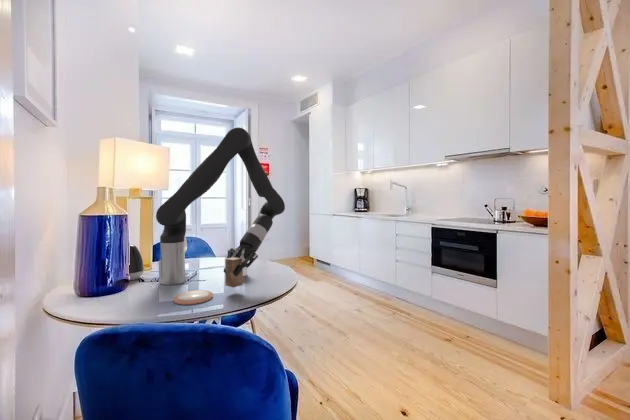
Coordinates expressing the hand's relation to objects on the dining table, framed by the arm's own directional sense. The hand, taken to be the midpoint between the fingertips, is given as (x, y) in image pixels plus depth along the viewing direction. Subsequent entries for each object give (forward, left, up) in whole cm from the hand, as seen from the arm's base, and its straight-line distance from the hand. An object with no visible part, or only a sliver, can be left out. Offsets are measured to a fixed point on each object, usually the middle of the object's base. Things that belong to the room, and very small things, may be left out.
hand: (230, 273), depth 117 cm
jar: (-9, +27, -8) cm, 29 cm away
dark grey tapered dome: (-53, +14, -8) cm, 55 cm away
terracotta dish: (-11, -6, -8) cm, 15 cm away
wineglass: (-37, +25, -8) cm, 45 cm away
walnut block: (+1, +2, -5) cm, 5 cm away
